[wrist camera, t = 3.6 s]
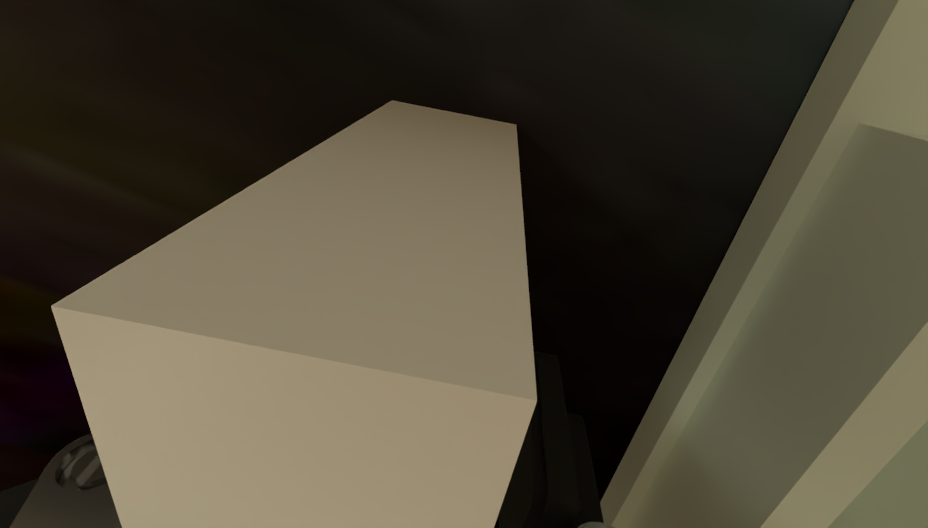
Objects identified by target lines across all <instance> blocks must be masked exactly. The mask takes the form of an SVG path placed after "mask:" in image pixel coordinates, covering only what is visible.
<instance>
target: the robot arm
mask: <svg viewBox="0 0 928 528" xmlns="http://www.w3.org/2000/svg"><path fill="white" fill-rule="evenodd" d="M534 365H535V378H536V392H537V403H536V406H535V409H534V412H533V415H532V417H531V420H530V423H529V426H528V429H527V432H526V435H525V438H524V441H523V444H522V447H521V450H520V453H519V456H518V459H517V462H516V464H515V467H514V470H513V473H512V476H511V479H510V482H509V485H508V488H507V491H506V494H505V497H504V500H503V503H502V506H501V508H500V511H499V528H615V527H613V526H610V525H607V524H605V523H604V521H603V515H602V510H601V505H600V500H599V494H598V489H597V484H596V479H595V473H594V468H593V463H592V457H591V452H590V447H589V442H588V436H587V431H586V426H585V422H584V418H583V417H582V416H581V415H577V414H572V413H567V411H566V404H565V397H564V390H563V384H562V377H561V370H560V363H559V358H558V356H557V355H552V354H547V353H542V352H537V351H536V352H535V353H534ZM0 528H122V526H121V523H120V520H119V517H118V514H117V511H116V507H115V504H114V501H113V498H112V495H111V492H110V489H109V486H108V482H107V479H106V476H105V473H104V470H103V467H102V464H101V461H100V457H99V454H98V451H97V448H96V445H95V442H94V439H93V436H92V434H89V435H86V436H83V437H81V438H79V439H78V440H76V441H74V442H72V443H70V444H68V445H67V446H66V447H65V448H63V449H62V450H61V451H60V452H58V453H57V454H56V455H55V456H54V458H53V459H52V460H51V461H50V462H49V464H48V465H47V466H46V468H45V470H44V471H43V473H42V475H41V476H40V478H38V479H35V480H33V481H30V482H27V483H24V484H22V485H19V486H16V487H13V488H11V489H8V490H5V491H2V492H0Z"/></svg>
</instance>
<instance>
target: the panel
mask: <svg viewBox="0 0 928 528" xmlns="http://www.w3.org/2000/svg"><path fill="white" fill-rule="evenodd" d="M51 308H52V311H53V314H54V317H55V320H56V323H57V326H58V329H59V333H60V336H61V339H62V342H63V345H64V348H65V351H66V354H67V358H68V361H69V364H70V367H71V370H72V373H73V376H74V379H75V382H76V386H77V389H78V392H79V395H80V398H81V401H82V404H83V407H84V411H85V414H86V417H87V420H88V423H89V426H90V429H91V432H92V436H93V439H94V442H95V445H96V448H97V451H98V454H99V457H100V461H101V464H102V467H103V470H104V473H105V476H106V479H107V482H108V486H109V489H110V492H111V495H112V498H113V501H114V504H115V507H116V511H117V514H118V517H119V520H120V523H121V526H122V528H494V526H495V523H496V520H497V517H498V514H499V511H500V508H501V506H502V503H503V500H504V497H505V494H506V491H507V488H508V485H509V482H510V479H511V476H512V473H513V470H514V467H515V464H516V462H517V459H518V456H519V453H520V450H521V447H522V444H523V441H524V438H525V435H526V432H527V429H528V426H529V423H530V420H531V417H532V415H533V412H534V409H535V406H536V403H537V392H536V378H535V365H534V352H533V339H532V325H531V312H530V299H529V286H528V272H527V259H526V246H525V233H524V219H523V206H522V193H521V180H520V166H519V153H518V140H517V127H516V125H515V124H510V123H505V122H500V121H495V120H490V119H485V118H480V117H475V116H470V115H464V114H459V113H454V112H449V111H444V110H439V109H434V108H429V107H424V106H418V105H413V104H408V103H403V102H398V101H393V100H392V101H390V102H388V103H387V104H385V105H383V106H382V107H380V108H378V109H377V110H375V111H373V112H372V113H370V114H368V115H367V116H365V117H363V118H362V119H360V120H358V121H357V122H355V123H354V124H352V125H350V126H349V127H347V128H345V129H344V130H342V131H340V132H339V133H337V134H335V135H334V136H332V137H330V138H329V139H327V140H325V141H324V142H322V143H320V144H319V145H317V146H315V147H314V148H312V149H310V150H309V151H307V152H305V153H304V154H302V155H301V156H299V157H297V158H296V159H294V160H292V161H291V162H289V163H287V164H286V165H284V166H282V167H281V168H279V169H277V170H276V171H274V172H272V173H271V174H269V175H267V176H266V177H264V178H262V179H261V180H259V181H257V182H256V183H254V184H252V185H251V186H249V187H247V188H246V189H244V190H243V191H241V192H239V193H238V194H236V195H234V196H233V197H231V198H229V199H228V200H226V201H224V202H223V203H221V204H219V205H218V206H216V207H214V208H213V209H211V210H209V211H208V212H206V213H204V214H203V215H201V216H199V217H198V218H196V219H194V220H193V221H191V222H190V223H188V224H186V225H185V226H183V227H181V228H180V229H178V230H176V231H175V232H173V233H171V234H170V235H168V236H166V237H165V238H163V239H161V240H160V241H158V242H156V243H155V244H153V245H151V246H150V247H148V248H146V249H145V250H143V251H141V252H140V253H138V254H137V255H135V256H133V257H132V258H130V259H128V260H127V261H125V262H123V263H122V264H120V265H118V266H117V267H115V268H113V269H112V270H110V271H108V272H107V273H105V274H103V275H102V276H100V277H98V278H97V279H95V280H93V281H92V282H90V283H88V284H87V285H85V286H83V287H82V288H80V289H79V290H77V291H75V292H74V293H72V294H70V295H69V296H67V297H65V298H64V299H62V300H60V301H59V302H57V303H55V304H54V305H52V306H51Z"/></svg>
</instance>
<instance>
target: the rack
mask: <svg viewBox="0 0 928 528" xmlns="http://www.w3.org/2000/svg"><path fill="white" fill-rule="evenodd" d="M600 505H601V510H602V515H603V521H604V523H605V524H607V525H610V526H613V527H615V528H928V0H854V2H853V4H852V6H851V8H850V10H849V12H848V14H847V16H846V18H845V20H844V22H843V24H842V26H841V28H840V30H839V31H838V33H837V35H836V37H835V39H834V41H833V43H832V45H831V47H830V49H829V51H828V53H827V55H826V57H825V59H824V61H823V63H822V65H821V67H820V69H819V71H818V73H817V75H816V77H815V79H814V81H813V83H812V85H811V87H810V89H809V91H808V93H807V95H806V97H805V99H804V101H803V103H802V105H801V107H800V109H799V110H798V112H797V114H796V116H795V118H794V120H793V122H792V124H791V126H790V128H789V130H788V132H787V134H786V136H785V138H784V140H783V142H782V144H781V146H780V148H779V150H778V152H777V154H776V156H775V158H774V160H773V162H772V164H771V166H770V168H769V170H768V172H767V174H766V176H765V178H764V180H763V182H762V184H761V186H760V188H759V190H758V191H757V193H756V195H755V197H754V199H753V201H752V203H751V205H750V207H749V209H748V211H747V213H746V215H745V217H744V219H743V221H742V223H741V225H740V227H739V229H738V231H737V233H736V235H735V237H734V239H733V241H732V243H731V245H730V247H729V249H728V251H727V253H726V255H725V257H724V259H723V261H722V263H721V265H720V267H719V269H718V271H717V272H716V274H715V276H714V278H713V280H712V282H711V284H710V286H709V288H708V290H707V292H706V294H705V296H704V298H703V300H702V302H701V304H700V306H699V308H698V310H697V312H696V314H695V316H694V318H693V320H692V322H691V324H690V326H689V328H688V330H687V332H686V334H685V336H684V338H683V340H682V342H681V344H680V346H679V348H678V350H677V352H676V353H675V355H674V357H673V359H672V361H671V363H670V365H669V367H668V369H667V371H666V373H665V375H664V377H663V379H662V381H661V383H660V385H659V387H658V389H657V391H656V393H655V395H654V397H653V399H652V401H651V403H650V405H649V407H648V409H647V411H646V413H645V415H644V417H643V419H642V421H641V423H640V425H639V427H638V429H637V431H636V433H635V434H634V436H633V438H632V440H631V442H630V444H629V446H628V448H627V450H626V452H625V454H624V456H623V458H622V460H621V462H620V464H619V466H618V468H617V470H616V472H615V474H614V476H613V478H612V480H611V482H610V484H609V486H608V488H607V490H606V492H605V494H604V496H603V498H602V500H601V502H600Z"/></svg>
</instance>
